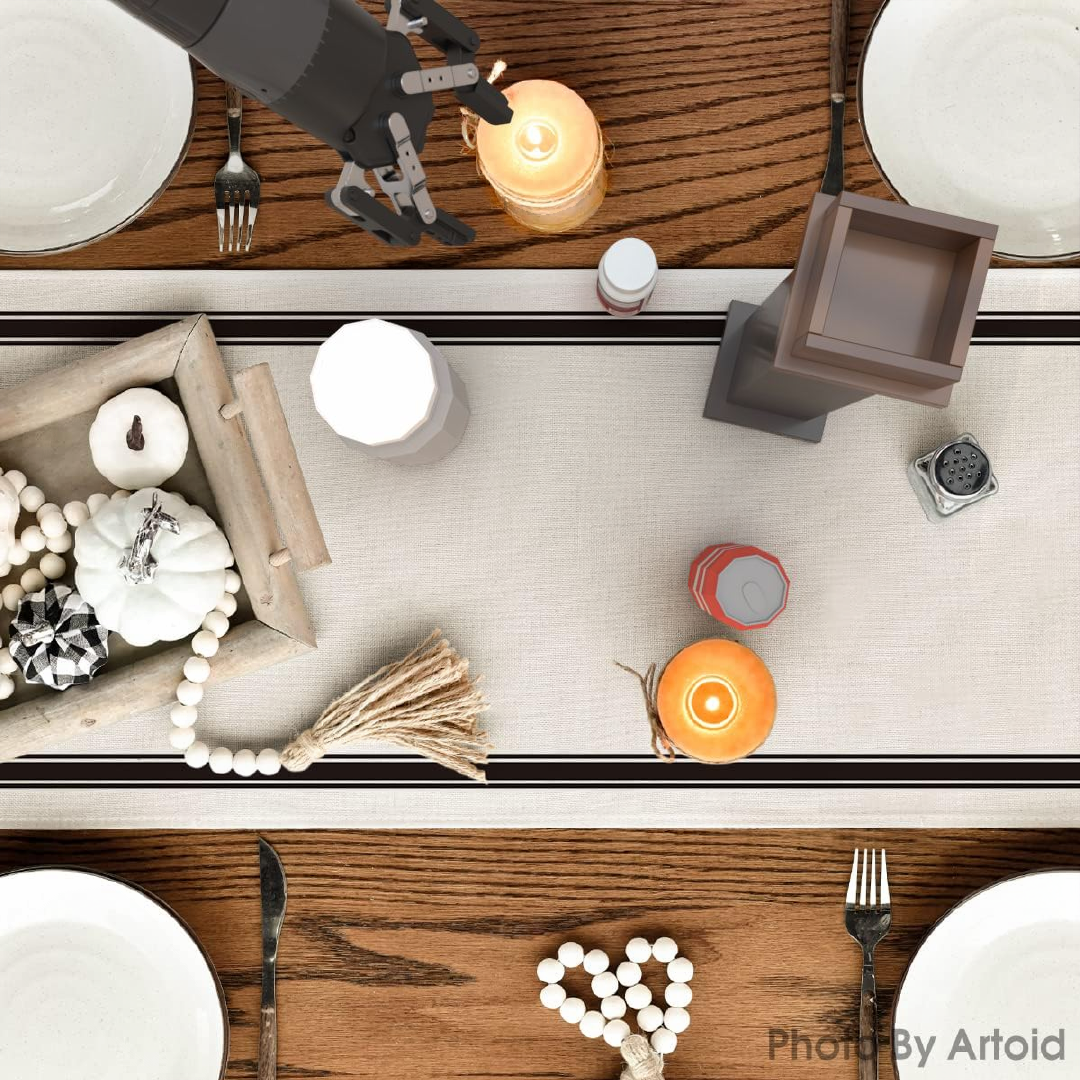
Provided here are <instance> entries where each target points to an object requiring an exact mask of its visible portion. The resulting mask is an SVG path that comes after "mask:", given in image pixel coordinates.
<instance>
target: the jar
mask: <svg viewBox="0 0 1080 1080" xmlns="http://www.w3.org/2000/svg"><path fill="white" fill-rule="evenodd" d="M309 381H310V387H311V391H312V396H313V400H314V407H315V410H316V411H317V413H318V414H319V415H320V416H321V417H322V418H323V419H324V423H326V424H327V425H328V427H330V429H331V430H332V431H333V432H334V433H335V434H336V435H337V437H338V438H339V439H340V440H341V441H342V443H343V444H345V446H346V447H347V448H348V449H351V450H353V451H357V452H360V453H363V454H365V455H369V456H371V457H374V458H377V459H380V460H384V461H387V462H391V463H393V464H397V465H401V466H404V467H407V468H413V467H414V468H415V467H418V466H423V465H424V466H425V465H428V464H434V463H438V462H440V461H441V460H442V459H444V457H446V456H448V454H450V453H451V451H453V450H454V449H455V448H456V447H457V446H458V445H459V444H460V443H461V442H462V440H463V437H464V435H465V432H466V429H467V425H468V423H469V420H470V417H471V413H472V412H471V408H470V402H469V397H468V391H467V387H466V384H465V382H464V380H463V379H462V378H461V377H460V375H459V374H458V373H457V372H456V370H455V369H454V368H453V367H452V365H451V363H449V361H448V360H447V358H445V357H444V356H443V354H442V353H441V352H440V351H439V349H438V348H437V347H435V345H434V344H433V342H431V340H430V339H429V338H428V336H426V335H425V334H424V333H423V332H421V331H417V330H415V329H411V328H408V327H406V326H403V325H399V324H396V323H394V322H390V321H389V322H388V321H385V320H383V319H380V318H377V317H376V318H375V317H374V318H370V319H364V320H360V321H356V322H351V323H346V324H343V325H342V326H341V327H340V328H339V329H338V330H337V331H335V333H333V334H332V335H331V336H329V338H328V339H327V340H325V341H324V342H322V344H321V345H319V347H318V351H317V355H316V357H315V360H314V363H313V366H312V368H311V372H310V375H309Z"/></svg>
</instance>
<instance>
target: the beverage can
mask: <svg viewBox="0 0 1080 1080" xmlns="http://www.w3.org/2000/svg"><path fill="white" fill-rule="evenodd" d="M785 571H786V570H785V569H784V568H783V565H782V563H781V561H780V560H779V558H778V557H776V556H775V555H772V554H770V553H769V552H766V551H764V550H762V549H760V548H759V547H756V546H754V545H749V544H748V545H747V544H742V543H736V542H726V543H719V544H713V545H708V546H706V547H705V548H704V549H703V550H702V551H701V552H700V553H699V554H698V555H697V556H696V557H695V558H694V559H693V560H692V561H691V562H690V567H689V574H688V580H687V589H689V592H690V594H691V596H692V597H693V600H694V601H695V603H696V605H697V607H699V608H700V610H703V611H704V612H705V613H707V614H708V615H710V616H711V617H713V618H714V619H716V620H718V621H719V622H722V623H724V624H726V625H727V626H730V627H731V628H733V629H735V630H737V631H740V632H743V631H744V632H745V631H749V630H755V629H756V630H757V629H761V628H767V627H769V626H770V625H771V624H772V623H773V622H774V621H775V620H776V619H777V618H778V616H779V615H781V613H782V612H784V610H786V608H787V605H788V604H787V603H788V597H789V590H790V583H791V581H790V579H789V577H788V575H787V573H786V572H785Z"/></svg>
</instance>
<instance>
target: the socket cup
mask: <svg viewBox="0 0 1080 1080" xmlns="http://www.w3.org/2000/svg"><path fill="white" fill-rule="evenodd" d="M999 227H1000V226H999V225H997V224H993V223H989V222H984V221H980V220H975V219H972V218H967V217H962V216H958V215H954V214H950V213H945V212H941V211H936V210H932V209H928V208H923V207H919V206H914V205H909V204H906V203H900V202H896V201H892V200H888V199H883V198H879V197H874V196H870V195H865V194H861V193H856V192H852V191H848V190H843V189H842V190H841V191H840V192H839V193H838V195H837V196H836V195H832V194H828V193H824V192H819V191H815V192H814V193H813V194H812V195H811V197H810V199H809V204H808V208H807V212H806V216H805V221H804V225H803V227H802V232H801V237H800V242H799V245H798V250H797V253H796V257H795V261H794V266H793V270H792V271H793V274H792V278H791V282H790V286H789V290H788V295H787V299H786V303H785V307H784V311H783V315H782V319H781V324H780V328H779V332H778V336H777V340H776V344H775V348H774V352H773V357H772V361H771V365H770V370H773V371H778V372H782V373H786V374H791V375H795V376H799V377H804V378H808V379H812V380H817V381H821V382H825V383H830V384H834V385H838V386H843V387H847V388H851V389H856V390H860V391H864V392H869V393H873V394H876V395H879V396H881V397H887V398H891V399H895V400H900V401H904V402H909V403H913V404H917V405H922V406H926V407H930V408H934V409H939V410H942V409H946V408H948V407H949V404H950V401H951V397H952V393H953V392H952V391H953V389H954V385H955V384H958V383H960V382H961V380H962V375H963V372H964V367H965V364H966V361H967V360H966V359H967V356H968V353H969V349H970V344H971V340H972V336H973V332H974V329H975V325H976V320H977V317H978V313H979V308H980V304H981V301H982V296H983V292H984V289H985V284H986V280H987V276H988V272H989V268H990V263H991V261H992V255H993V252H994V248H995V244H996V240H997V236H998V232H999Z"/></svg>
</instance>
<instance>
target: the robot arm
mask: <svg viewBox="0 0 1080 1080" xmlns="http://www.w3.org/2000/svg"><path fill="white" fill-rule="evenodd" d="M106 1H108V2H110V3H111V4H113V5H114V6H115V7H117V8H118V9H120V10H121V11H123V13H125V14H127V15H128V16H130V17H132V18H133V19H135V20H136V21H138V22H139V23H140V24H143V25H144V26H145V27H147V28H149V29H151V30H152V31H154V33H157V34H158V35H160V36H161V37H163V38H164V39H167V41H169V42H170V43H173V44H174V45H175V46H177V47H179V48H181V49H182V50H183V51H185V52H186V53H187V54H189V55H190V56H192V57H193V58H194V59H195V60H197V61H198V62H199V63H200V64H201V65H203V66H204V67H205V68H206V69H207V70H209V71H210V72H211V73H212V74H214V75H215V76H216V77H218V78H219V79H221V80H223V81H224V82H226V83H227V84H229V85H230V86H232V87H234V88H235V89H236V90H237V91H238V93H240V94H241V95H243V96H244V97H246V98H247V99H250V100H253V101H256V102H258V103H259V104H260V105H262V106H264V107H265V108H267V109H268V110H270V111H272V112H273V113H275V114H276V115H278V116H280V117H281V118H283V119H284V120H286V121H287V122H289V123H291V124H292V125H294V126H296V127H297V128H299V129H300V130H302V131H303V132H305V133H307V134H308V135H310V136H312V137H313V138H315V139H316V140H318V141H320V142H322V143H324V144H325V145H327V146H329V147H331V148H332V149H333V150H334V151H335V152H336V153H337V154H338V155H339V157H340V159H341V160H342V162H343V163H344V165H343V167H342V170H341V173H340V176H339V179H338V181H337V184H336V186H335V187H329V188H328V189H327V190H326V191H325V193H324V203H325V204H326V206H328V207H329V208H330V209H332V210H333V211H335V212H336V213H338V214H339V215H341V216H342V217H343V218H346V219H347V220H349V221H350V222H351V223H353V224H355V225H356V226H357V227H360V228H361V229H362V230H364V231H366V233H368V234H370V235H372V236H373V237H374V238H376V239H378V240H379V241H381V242H382V243H383V244H385V245H387V246H388V247H390V248H391V247H393V248H394V247H415V246H418V245H419V244H420V243H421V241H422V240H421V239H422V233H423V234H425V235H427V236H428V237H429V238H432V239H433V240H435V241H436V242H438V243H440V244H441V245H443V246H445V247H465V246H466V244H473V243H475V241H476V237H477V234H478V232H477V230H476V229H474V228H473V227H471V226H469V225H468V224H467V223H465V222H463V221H461V219H459V218H458V217H455V216H454V215H452V214H451V213H449V212H448V211H446V210H444V209H442V208H441V207H435V205H434V203H433V201H432V198H431V196H430V194H429V192H428V189H427V187H426V183H427V180H428V179H427V175H426V172H425V171H424V167H423V165H422V164H421V161H420V158H419V156H418V155H420V154H423V151H424V148H425V145H426V139H427V130H428V127H429V125H430V123H431V121H432V120H433V118H434V116H435V112H436V109H437V106H436V105H435V104H434V97H433V92H438V91H446V90H450V89H452V90H453V91H454V94H453V97H454V99H456V100H457V101H458V102H460V103H461V104H462V105H464V106H466V107H467V108H468V109H469V110H470V111H472V112H473V113H474V114H476V115H477V116H479V117H480V118H481V119H482V120H484V122H486V123H487V124H490V125H492V126H503V125H508V124H511V123H512V120H513V116H514V112H515V111H514V109H512V108H511V107H510V106H509V103H510V101H509V99H508V98H507V97H506V95H505V94H504V93H503V92H502V91H501V90H499V89H498V88H496V87H495V86H494V85H493V84H492V83H491V82H489V81H488V80H487V79H485V78H484V77H483V76H482V75H481V74H480V71H479V68H478V66H477V65H476V62H475V61H476V52H478V51H479V50H480V47H481V37H480V35H479V34H478V32H477V31H476V30H474V29H472V28H471V27H470V26H469V25H467V24H466V23H465V22H463V21H462V20H461V19H459V18H458V16H457V17H456V15H454V14H453V13H451V12H450V11H449V10H447V9H446V8H445V7H443V6H442V5H441V4H440V3H438V2H437V1H435V0H384V2H383V5H384V10H385V12H386V14H387V15H388V20H387V23H386V26H385V27H386V28H385V27H384V26H383V24H382V23H381V22H380V21H379V19H378V18H376V17H375V16H373V15H372V14H371V13H370V12H368V11H367V10H366V9H364V8H363V7H362V6H361V5H359V4H358V3H356V1H354V0H106ZM413 36H418V37H419V38H421V39H422V40H423V41H425V42H426V43H428V44H429V45H431V46H432V47H433V48H435V49H436V50H437V51H439V52H441V53H442V54H443V55H445V56H446V61H445V62H446V64H445V65H446V66H440V67H435V68H434V67H433V68H427V69H422V66H421V63H420V61H419V58H418V56H417V54H416V52H415V50H414V48H413V45H412V42H411V41H410V39H409V37H413ZM396 165H398V166H399V168H400V171H401V173H399V172H398V171H396V168H394V166H396ZM369 170H372V172H373V174H374V176H375V178H376V181H377V183H378V185H379V187H380V189H381V190H382V192H383V193H384V194H385V195H387V196H388V197H389V198H390V200H391V202H392V205H393V207H394V210H395V211H396V212H395V211H394V210H392V209H391V208H389V207H388V206H386V205H385V204H384V203H382V202H381V201H379V200H378V199H376V198H375V196H376V191H375V189H374V188H372V186H371V185H370V184H369V183H368V182H367V180H366V177H365V172H366V171H369Z"/></svg>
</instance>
